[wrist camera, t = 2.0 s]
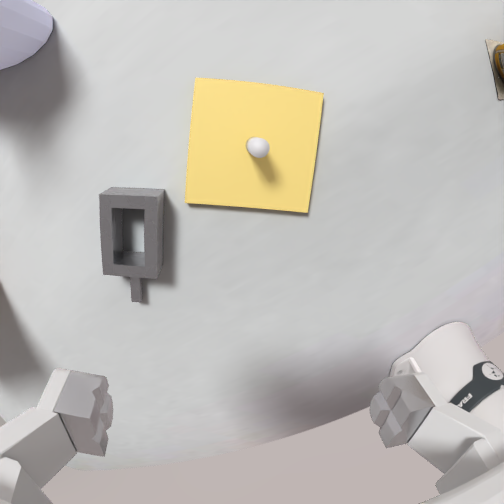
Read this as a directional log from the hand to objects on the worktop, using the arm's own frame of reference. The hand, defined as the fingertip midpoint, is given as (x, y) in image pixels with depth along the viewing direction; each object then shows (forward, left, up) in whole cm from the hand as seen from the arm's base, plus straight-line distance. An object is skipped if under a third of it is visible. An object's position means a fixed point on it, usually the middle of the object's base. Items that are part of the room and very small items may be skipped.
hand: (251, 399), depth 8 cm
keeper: (+6, -2, -25) cm, 26 cm away
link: (-5, +9, -25) cm, 27 cm away
